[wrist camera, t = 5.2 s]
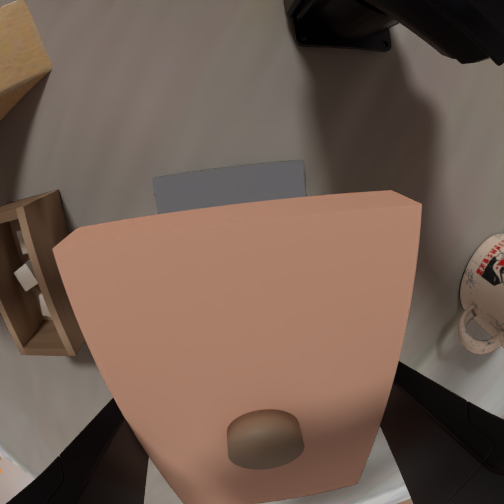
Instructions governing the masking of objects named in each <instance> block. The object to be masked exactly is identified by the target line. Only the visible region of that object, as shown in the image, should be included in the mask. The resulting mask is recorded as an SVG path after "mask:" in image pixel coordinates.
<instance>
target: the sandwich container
mask: <svg viewBox="0 0 504 504" xmlns="http://www.w3.org/2000/svg"><path fill="white" fill-rule="evenodd" d="M51 70H52V64H51V62H50V59H49V57H48V55H47V52H46V49H45V47H44V44H43V42H42V39H41V37H40V34H39V31H38V28H37V26H36V24H35V22H34V20H33V18H32V16H31V14H30V12H29V10H28V8H27V5H26V3H25V1H24V0H18V1H15V2H12V3H10V4H7V5H5V6H2V7H0V121H1V120H2V119H3V118H4V116H5V115H6V114H7V113H8V112H9V111H10V110H11V109H12V108H13V107H14V106H15V105H16V104H17V102H18V101H19V100H20V99H21V98H22V97H23V96H24V95H25V94H26V93H27V92H28V91H29V90H30V89H31V88H32V87H34V86H35V85H36V84H37V83H38V82H39V81H40V80H41V79H42V78H43V77H44V76H45V75H46V74H48V73H49V72H50V71H51Z"/></svg>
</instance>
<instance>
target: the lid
mask: <svg viewBox="0 0 504 504" xmlns="http://www.w3.org/2000/svg"><path fill="white" fill-rule="evenodd" d="M421 213H422V204H421V203H419V202H416V201H414V200H412V199H410V198H408V197H405V196H403V195H401V194H399V193H397V192H394V191H392V190H385V191H370V192H356V193H343V194H330V195H319V196H307V197H297V198H287V199H277V200H267V201H258V202H249V203H241V204H232V205H224V206H216V207H208V208H200V209H193V210H186V211H178V212H171V213H164V214H158V215H151V216H144V217H138V218H132V219H125V220H119V221H113V222H107V223H101V224H96V225H90V226H84V227H79V228H77V229H76V230H74V231H73V232H72V233H71V234H69V235H68V236H67V237H66V238H65V239H63V240H62V241H61V242H60V243H59V244H57V245H56V246H55V247H54V248H53V249H52V250H53V253H54V256H55V260H56V263H57V266H58V269H59V272H60V275H61V278H62V281H63V284H64V287H65V290H66V293H67V295H68V298H69V301H70V304H71V306H72V309H73V311H74V314H75V316H76V319H77V321H78V324H79V326H80V329H81V331H82V333H83V336H84V338H85V340H86V343H87V345H88V347H89V349H90V352H91V354H92V356H93V358H94V360H95V362H96V364H97V367H98V369H99V371H100V373H101V375H102V377H103V379H104V381H105V383H106V385H107V386H108V388H109V390H110V392H111V394H112V396H113V398H114V400H115V401H116V403H117V405H118V407H119V409H120V410H121V412H122V414H123V416H124V417H125V419H126V421H127V422H128V424H129V426H130V427H131V429H132V431H133V432H134V434H135V436H136V437H137V439H138V440H139V442H140V443H141V445H142V447H143V448H144V450H145V451H146V453H147V454H148V456H149V457H150V459H151V460H152V462H153V463H154V465H155V466H156V467H157V469H158V470H159V472H160V473H161V475H162V476H163V477H164V479H165V480H166V481H167V483H168V484H169V485H170V487H171V488H172V489H173V491H174V492H175V493H176V495H177V496H178V497H179V498H180V500H181V501H182V502H183V503H184V504H256V503H265V502H272V501H279V500H286V499H292V498H298V497H303V496H308V495H313V494H318V493H323V492H327V491H331V490H335V489H339V488H343V487H347V486H351V485H354V484H358V481H359V479H360V477H361V474H362V472H363V469H364V467H365V464H366V462H367V459H368V457H369V454H370V452H371V449H372V446H373V443H374V441H375V438H376V435H377V432H378V429H379V426H380V423H381V420H382V417H383V414H384V411H385V408H386V405H387V401H388V398H389V394H390V391H391V388H392V384H393V381H394V377H395V373H396V369H397V365H398V361H399V357H400V353H401V349H402V344H403V340H404V335H405V331H406V326H407V321H408V315H409V310H410V304H411V299H412V293H413V286H414V279H415V272H416V265H417V257H418V248H419V238H420V227H421Z"/></svg>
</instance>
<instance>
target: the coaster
mask: <svg viewBox="0 0 504 504" xmlns="http://www.w3.org/2000/svg"><path fill="white" fill-rule="evenodd" d="M153 185H154V191H155V197H156V202H157V208H158V214H164V213H171V212H178V211H186V210H193V209H200V208H208V207H216V206H224V205H232V204H241V203H249V202H258V201H267V200H277V199H287V198H297V197H306V191H305V174H304V161H303V160H292V161H280V162H269V163H258V164H249V165H240V166H231V167H223V168H215V169H207V170H200V171H193V172H186V173H179V174H173V175H166V176H160V177H155V178H153Z"/></svg>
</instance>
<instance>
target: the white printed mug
mask: <svg viewBox="0 0 504 504" xmlns="http://www.w3.org/2000/svg"><path fill="white" fill-rule="evenodd" d="M460 299H461V304H462V307H463V309H464V310H465V311H464V312H463V314H462V315H461V317H460V319H459V322H458V335H459V339H460V341H461V343H462V345H463V346H464V347H465V348H466V349H467V350H468V351H470V352H471V353H474V354H487V353H490V352H492V351H494V350H496V349H497V348H499V347H500V346H502V347H503V348H504V234H496V235H494V236H492V237H490V238H488V239H487V240H486V241H484V242H483V243H482V244H481V245H480V246H479V247H478V249H477V250H476V251H475V253H474V254H473V256H472V257H471V259H470V261H469V263H468V265H467V267H466V269H465V272H464V275H463V278H462V282H461V288H460ZM472 319H474V320H475V321H476V322H477V323H478V324H479V325H480V326H481V327H483V328H484V329H485V330H486V331H487V332H488V333H489V334H490V335H491V336H492V338H491V339H488V340H482V341H481V340H476V339H474V338H472V337H471V336H470V335H469V333H468V332H467V330H466V325H467V324H468V323H469V321H470V320H472Z"/></svg>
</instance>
